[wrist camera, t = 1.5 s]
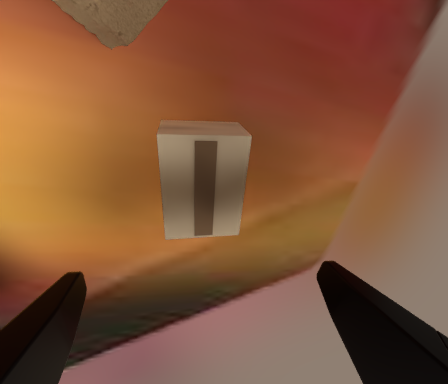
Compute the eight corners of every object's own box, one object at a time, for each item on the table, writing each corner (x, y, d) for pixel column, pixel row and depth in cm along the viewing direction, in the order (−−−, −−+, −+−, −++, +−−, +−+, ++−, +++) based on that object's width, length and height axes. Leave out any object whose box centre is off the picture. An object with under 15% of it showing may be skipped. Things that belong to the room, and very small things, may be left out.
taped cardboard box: (229, 207, 18) (239, 236, 15) (167, 209, 18) (165, 241, 14) (237, 121, 15) (252, 136, 12) (161, 118, 14) (156, 135, 11)
